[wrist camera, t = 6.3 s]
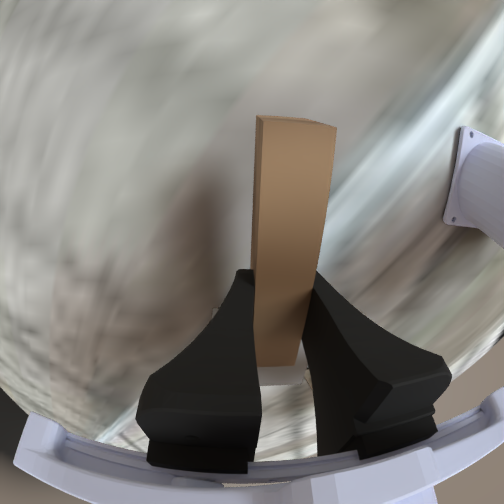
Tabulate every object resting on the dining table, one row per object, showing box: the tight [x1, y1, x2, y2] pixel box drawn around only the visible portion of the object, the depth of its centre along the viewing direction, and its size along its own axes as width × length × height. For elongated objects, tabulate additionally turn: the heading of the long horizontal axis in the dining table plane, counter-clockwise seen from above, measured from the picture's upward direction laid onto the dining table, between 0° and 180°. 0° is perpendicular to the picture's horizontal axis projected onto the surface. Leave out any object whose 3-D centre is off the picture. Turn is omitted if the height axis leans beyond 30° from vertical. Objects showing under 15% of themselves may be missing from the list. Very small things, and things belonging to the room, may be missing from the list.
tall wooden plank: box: [212, 115, 337, 386], centre depth 13 cm, size 17×6×4 cm, turn 178°
